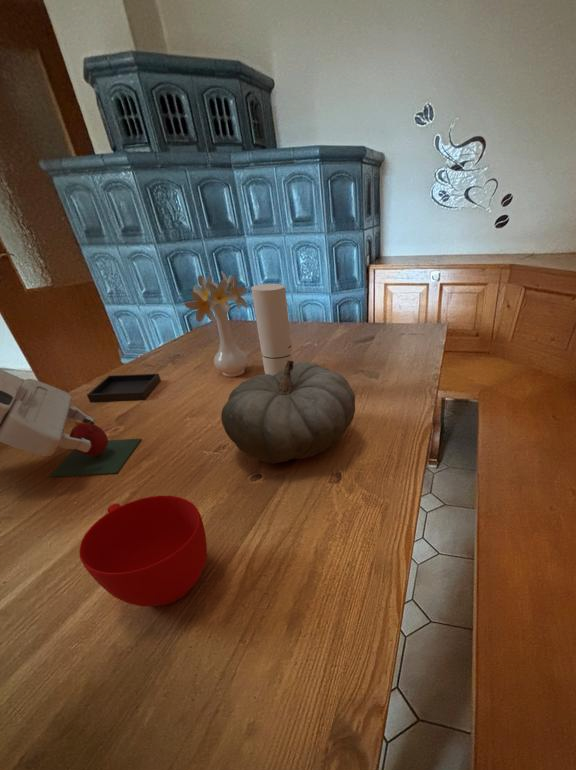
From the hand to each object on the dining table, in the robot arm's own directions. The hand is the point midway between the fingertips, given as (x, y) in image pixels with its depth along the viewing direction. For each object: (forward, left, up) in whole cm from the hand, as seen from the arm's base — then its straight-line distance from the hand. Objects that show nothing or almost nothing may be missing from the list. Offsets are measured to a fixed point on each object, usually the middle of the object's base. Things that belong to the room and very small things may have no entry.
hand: (91, 435), depth 72 cm
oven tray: (-8, +32, -5) cm, 33 cm away
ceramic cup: (+21, -31, -5) cm, 38 cm away
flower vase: (+18, +41, -5) cm, 45 cm away
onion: (-1, 0, -5) cm, 5 cm away
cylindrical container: (+33, +25, -5) cm, 42 cm away
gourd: (+37, +1, -5) cm, 38 cm away
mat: (-1, 0, -5) cm, 5 cm away
